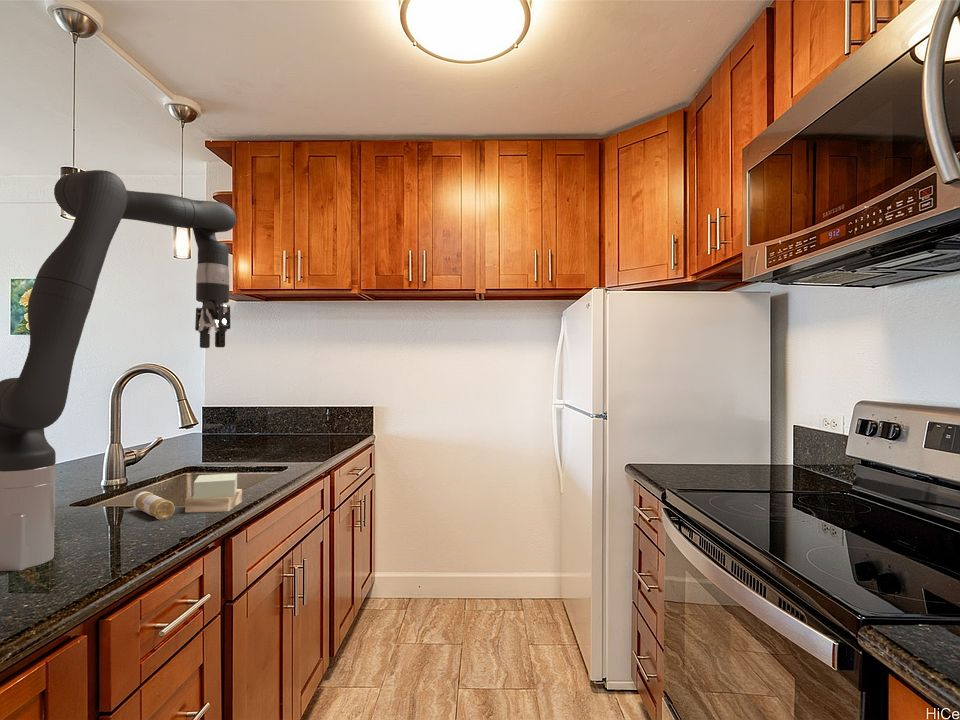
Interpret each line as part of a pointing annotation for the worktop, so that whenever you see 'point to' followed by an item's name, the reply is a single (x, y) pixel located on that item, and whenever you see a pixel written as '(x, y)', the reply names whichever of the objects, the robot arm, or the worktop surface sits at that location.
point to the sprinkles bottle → (153, 505)
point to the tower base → (213, 503)
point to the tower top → (215, 486)
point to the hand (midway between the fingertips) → (212, 347)
